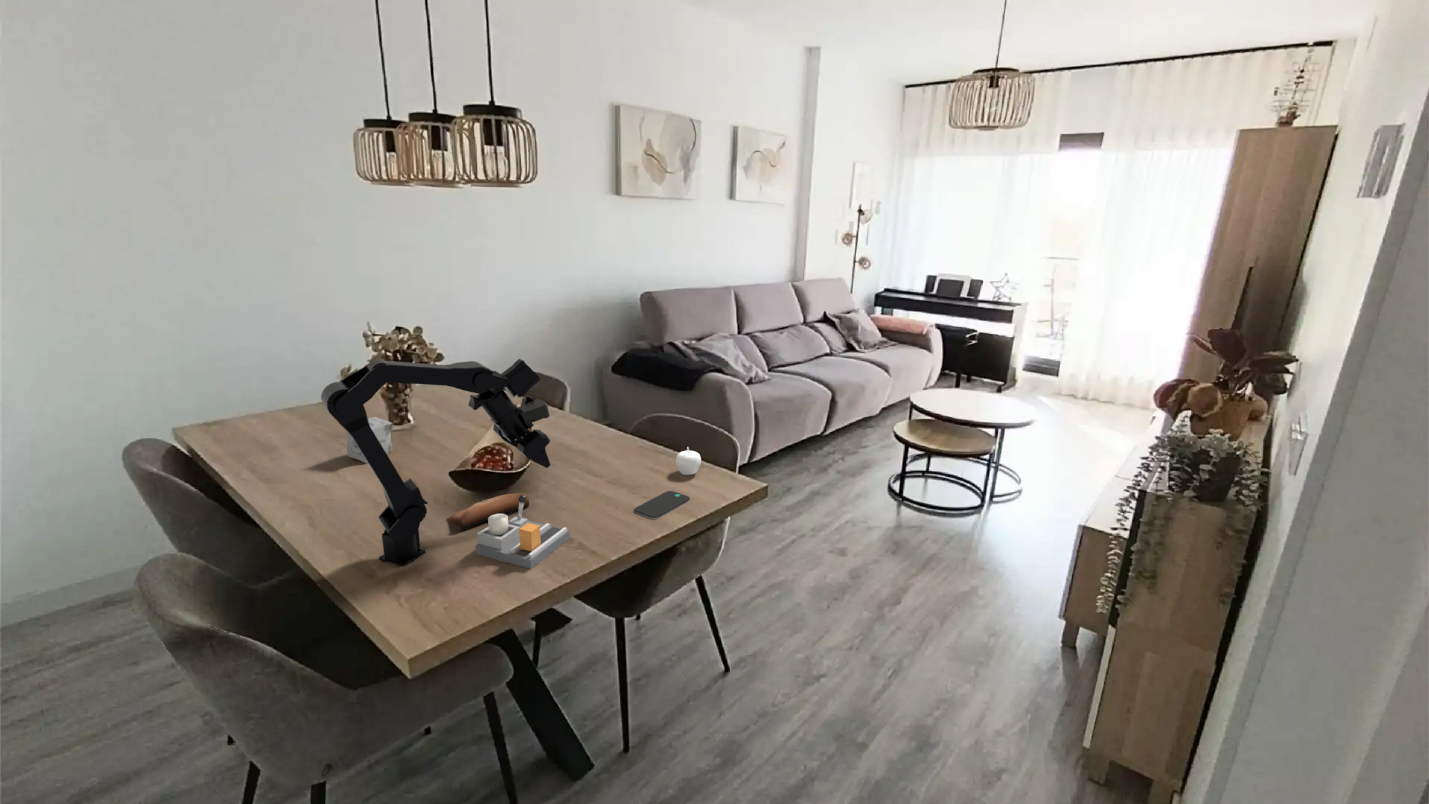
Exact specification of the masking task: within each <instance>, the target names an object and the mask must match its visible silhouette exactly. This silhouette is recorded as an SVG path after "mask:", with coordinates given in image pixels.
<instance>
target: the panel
mask: <svg viewBox="0 0 1429 804" xmlns="http://www.w3.org/2000/svg"><path fill="white" fill-rule="evenodd" d="M527 523H531V524H535V525H539V526H540V539H541V545H540V546H539V547H538V548H536V549H535V550H534V551H532V552H531V551H527V550H523V549H520V537H519V529H520V528H521V527H523V526H524V525H525V524H527ZM508 528H509V530H508V532H507V533H505V534H502V535H492V534H490V533H489V525H487V527H485V528H484V529H482V530H480V531H479V532H477V533H476V536H477V537H476V538H477V544H475V555H478V556H482V557H485V558H489V559H493V560H496V559H497V560H496V561H500V562H504V563H507V562H508V564H512V565H515V566H518V567H522V566H523V568H527V569H530V570H531V568H532V569H533V568H534V567H536V566H537V565H538V564H540V562H542V561H543V560H545V559H546V558H547V557H548V556H549V555H551V554H552V553H554V551H556V550H557V549H558V548H560V547H561V546H562V545H563V544H564V543H566V542H567V541H569V540H570V537H571V536H570V530H569V529H568V527H566V526H565V527H563V528H560V527H555V526H552V525H551V524H550V523H549V522H548V523H546V524H543V523H539V522H535V521H531V520H529V519H528V518H525V517H522V518H521V519H519V518H517V516H514V517H512V518H511V519H510V520H508ZM535 565H536V566H535Z"/></svg>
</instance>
